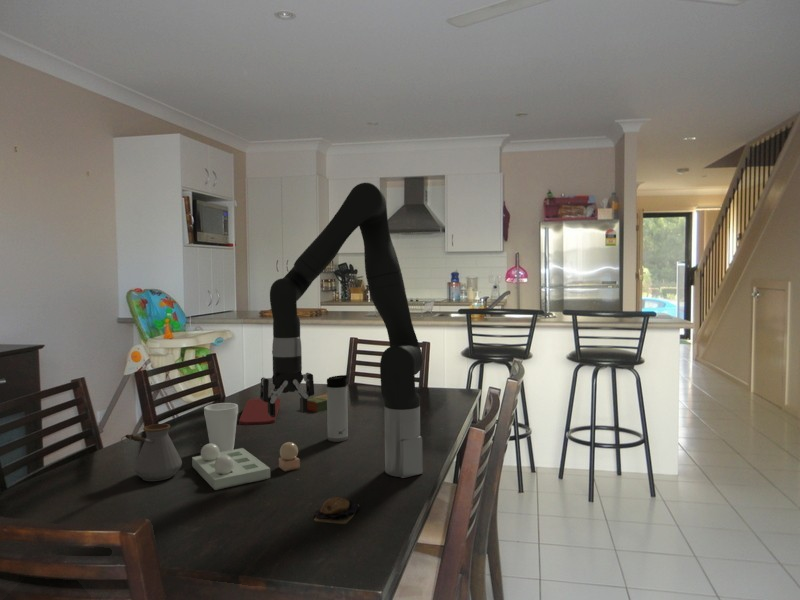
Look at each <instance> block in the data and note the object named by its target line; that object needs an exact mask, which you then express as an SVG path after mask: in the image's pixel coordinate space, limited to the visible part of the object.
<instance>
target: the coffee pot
mask: <svg viewBox="0 0 800 600" xmlns="http://www.w3.org/2000/svg"><path fill="white" fill-rule="evenodd" d="M170 428H171V424H168V423H156V424H155V423H154V424H149V425H146V426H144V427H143V429H142V430H143V431H144V432H145V434H146V437H142V436H139V435H134V434H125V435H124V436H123V437H121V439H120V442H121V443H122V444H125V445H127V444H129V443H131V441H132V440H133V441H134V442H139V443H143V444H142V446H141V449H140V452H139V455H138V456H137V459H136V462H135V464H134V467H133V470H134V472H135V474H136V475H137V476H138V477H140V478H142V480H143V481H146V482H159V481H164V480H167V479H170V478H173V477H174V476H175V474H176V473H177V472H178V471H180V469H181V468H182V465H183V461H182V459H181V456H180V454H179V452H178V450H177V448H176V447H175V445H174V443H173V441H172V439H171V437H170V436H169V429H170ZM123 438H126V439H129V441H128V442H125V443H124V442H123Z"/></svg>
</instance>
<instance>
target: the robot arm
mask: <svg viewBox="0 0 800 600" xmlns="http://www.w3.org/2000/svg"><path fill="white" fill-rule="evenodd" d="M387 211H388V210H387V201H386V197H385V195H384V193H383V192H382V191H381V190H380V188H379V187H378V186H376V185H375V184H373V183H372V182H371V183H370V182H362V183H359V184H356V185H355V186H354V187H353V188H352V189H351V190H350V192H349V193H348V194H347V197H346V198H345V199H344V201H343V203H342V204H341V206H340V207H339V209H338V210H337V212H336V213H335V214H334V215H333V217H332V219H331V220H330V221H329V223H328V224H327V225H326V226H325V227H324V229H323V230H322V231H321V232H320V233H319V234H318V236H317V237H316V238H315V239H314V240H313V241H312V242H311V243H310V244H309V246H307V248H306V249H305V250H304V251H303V252H302V253H301V254H300V256H298V257H297V259H296V260H295V261H294V264H293V267H292V268H291V269H290V270H289V271H288V272H287V274H286V275H285V276H284V277H283V278H278V279H276V280H275V281H274V282H273V283H272V285H271V287H270V290H269V303H270V308H271V309H270V311H271V315H272V321H273V323H272V336H273V337H272V345H271V346H272V349H271V355H272V376H271V377H268V378H267V377H261V378H260V393H259V395H260V397H259V398H260V399H261V400H262V401H264V402H267V403H268V414H269V415H270V416H271V417H275V403H274V402H275V400H276V399H277V398H279V397H280V396H281V394H282V393H283V394H285V393H286V394H287V393H289V392H290V393H297V395H299V396H300V398H299V412H300V413H302V414H305V413H306V412H307V411H308V410H307V399H308V398H311V397H314V396H315V383H314V375H313V374H312V373H310V372H306V373H302V371H303V367H302V364H303V362H302V357H303V356H302V355H303V354H302V340H301V321H300V317H299V315H298V307H297V302H298V300H300V298H301V297H303V295H304V294H305V293H306V291H307V290H308V289H309V287H310V286H311V285H312V283H313V282H314V281H315V280H316V278H318V277H319V276H320V275H321V274H322V273H323V272H324V271H325V270H326V268H327V267H328V266H329V265H330V264H331V263H332V261H333V260H334V259H335V257H336V256H337V255H338V254H339V251H340V249H341V248H342V247H343V245H344V244H345V242H346V241H347V240H348V238H349V237H350V236H351V234H352V233H354V231H355V230H356V229H358V228H359V230H360V233H361V237H362V240H363V248H364V249H363V251H364V252H363V253H364V271H365V277H366V281H367V285H368V292H369V295H370V298H371V301H372V303H373V305H374V307H375V309H376V310H377V312H378V314H379V316H380V318H381V319H382V321H383V324H384V326H385V328H386V332H387V337H388V340H389V347H388V348H387V347H386V349H385V350H384V351H383V353H382V355H381V357H380V361H379V362H380V363H379V374H380V375H379V377H380V391H381V396H382V399H383V406H384V407H383V409H384V419H383V420H384V421H383V422H384V465H385V466H384V471H385V473H386V474H387V475H389V476H392V477H396V478H397V477H399V478H401V479H405V478H410V477H413V476H418V475H421V474H423V472H424V471H423V437H422V436H421V397H420V395H419V393H417V391H416V379H415V378H416V377H415V375H417V374H418V373H419V372H420V371H421V369H422V367H423V364H424V357H423V352H422V349H421V346H420V343H419V340H418V337H417V334H416V331H415V328H414V325H413V321H412V317H411V313H410V307H409V301H408V298H407V297H408V296H407V294H406V288H405V283H404V278H403V273H402V269H401V267H400V263H399V259H398V255H397V252H396V249H395V247H394V244H393V241H392V238H391V234H390V227H389V220H388V212H387ZM302 381H304V382H305V389H304V388H303V386H302V385H301V383H302ZM271 384H272V385H274V386H273V388H272V389H271V391H270V393H269V387H270V386H271ZM295 391H296V392H295Z"/></svg>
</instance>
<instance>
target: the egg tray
mask: <svg viewBox="0 0 800 600" xmlns="http://www.w3.org/2000/svg"><path fill="white" fill-rule="evenodd" d="M222 455H228V456H230V457H231V458H232V459H233V461H234V468H233V470H232V471H231V472H230V473H228V474H223V475H220V474H218V473H217V472H216V471H215V468H214V463H215V461H216V460H212V461H205V460H203V459H202V457H201V455H196V456H192V457H191V463H192V464H191V465H192V466H191V467H192V468H193V469H194V470H195V471H196V472H197V473H198V474H199V475H200V477H202V479H204V480H205V482H207V484H208V485H209V486H210V487H211V488H212V489H213V490H214V491H218V490H222V489H227V488H230V487H235V486H236V487H237V486H240V485H245V484H250V483H254V482H259V481H265V480H268V479H271V467H269V466H268V465H267V464H265V463H264V462H263V461H261V460H260V459H258V458H257V457H256V456H254V454H252V453H250V452H249V451H247V450H246V449H245V448H244V447H240V448H235V449H233V450H229V451H224V452H220V453H219V456H218V457H220V456H222Z"/></svg>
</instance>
